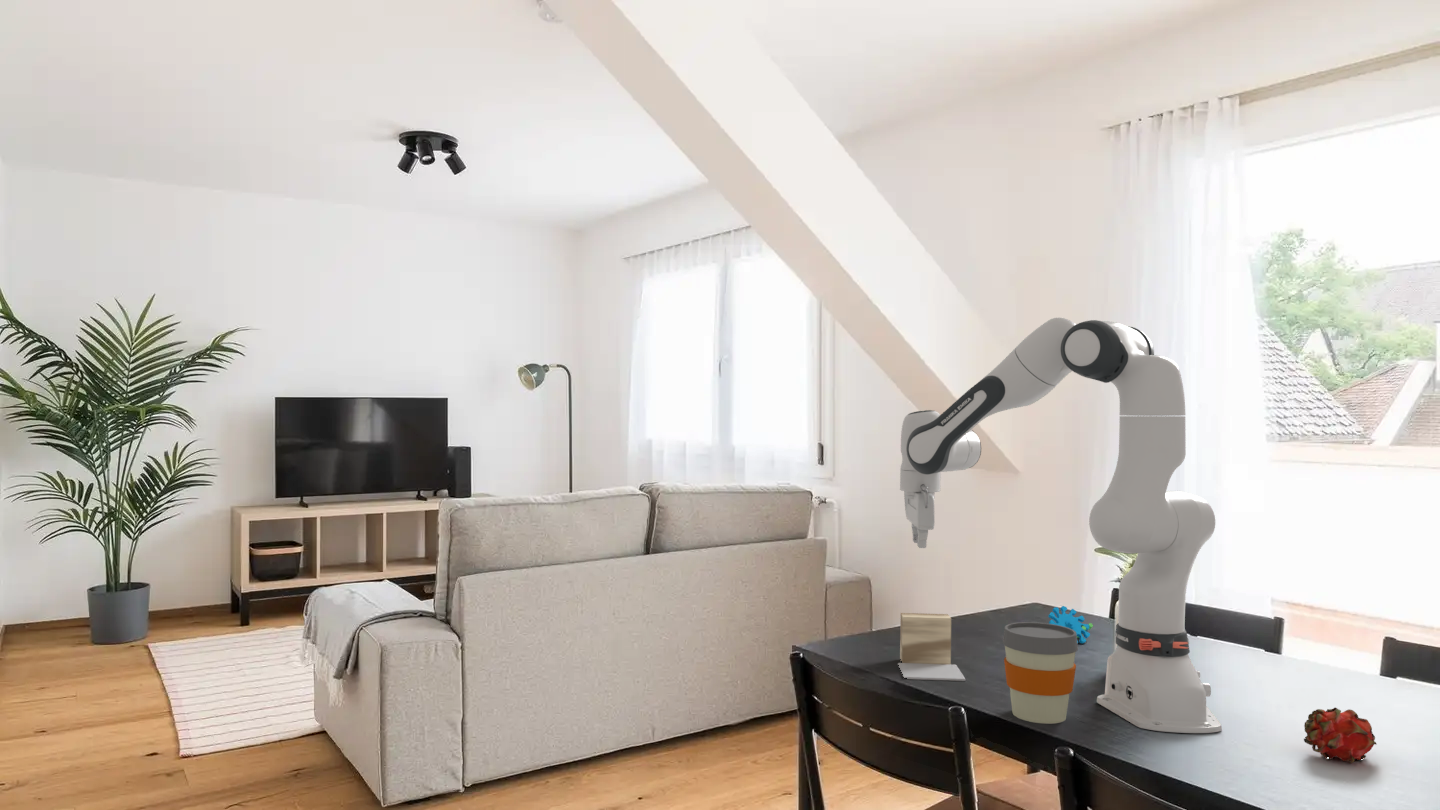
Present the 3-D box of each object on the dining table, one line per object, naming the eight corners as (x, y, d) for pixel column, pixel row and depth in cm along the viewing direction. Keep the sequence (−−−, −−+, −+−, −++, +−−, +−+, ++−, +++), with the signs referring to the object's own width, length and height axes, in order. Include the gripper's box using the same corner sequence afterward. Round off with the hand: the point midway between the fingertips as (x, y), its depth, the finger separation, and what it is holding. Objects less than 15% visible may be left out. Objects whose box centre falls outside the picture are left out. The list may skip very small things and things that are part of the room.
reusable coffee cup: (995, 719, 165) (996, 632, 165) (1009, 700, 176) (1010, 619, 176) (1071, 731, 159) (1072, 642, 159) (1081, 711, 170) (1082, 627, 170)
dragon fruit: (1298, 768, 148) (1363, 775, 151) (1340, 752, 142) (1407, 759, 144) (1280, 714, 153) (1343, 721, 156) (1319, 696, 147) (1384, 704, 149)
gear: (1057, 639, 217) (1045, 602, 224) (1045, 652, 221) (1034, 615, 228) (1101, 644, 219) (1088, 607, 226) (1088, 657, 223) (1076, 621, 230)
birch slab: (950, 666, 199) (951, 618, 199) (902, 664, 200) (902, 616, 200) (947, 661, 203) (947, 614, 203) (900, 659, 204) (900, 612, 204)
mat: (965, 680, 188) (965, 678, 188) (904, 678, 189) (904, 676, 189) (955, 666, 199) (955, 664, 199) (897, 664, 200) (897, 662, 200)
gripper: (942, 487, 202) (941, 552, 202) (927, 480, 223) (927, 539, 223) (912, 486, 203) (911, 551, 203) (900, 479, 223) (899, 538, 223)
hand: (919, 545), depth 213 cm, fingers open, 6 cm apart
